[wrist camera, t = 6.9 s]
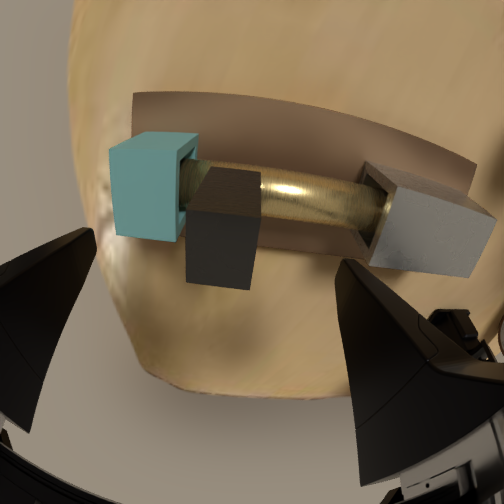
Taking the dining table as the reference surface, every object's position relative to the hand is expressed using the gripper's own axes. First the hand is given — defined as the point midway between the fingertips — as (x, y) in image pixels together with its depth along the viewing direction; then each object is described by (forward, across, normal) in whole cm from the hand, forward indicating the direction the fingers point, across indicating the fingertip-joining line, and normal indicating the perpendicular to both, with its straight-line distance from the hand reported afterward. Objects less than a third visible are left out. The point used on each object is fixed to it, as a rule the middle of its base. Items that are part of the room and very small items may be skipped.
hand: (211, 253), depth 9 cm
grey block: (+9, -13, 0) cm, 15 cm away
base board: (+10, -6, 0) cm, 12 cm away
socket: (+9, +4, 0) cm, 10 cm away
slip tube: (+8, -3, 0) cm, 8 cm away
